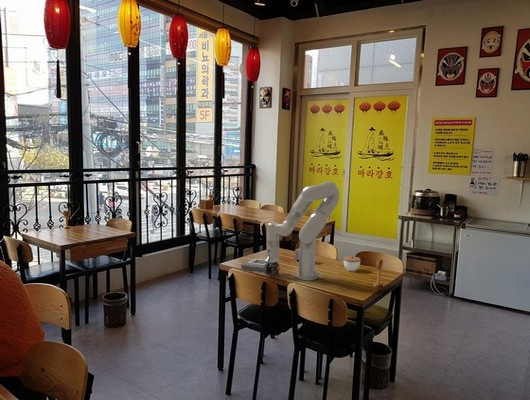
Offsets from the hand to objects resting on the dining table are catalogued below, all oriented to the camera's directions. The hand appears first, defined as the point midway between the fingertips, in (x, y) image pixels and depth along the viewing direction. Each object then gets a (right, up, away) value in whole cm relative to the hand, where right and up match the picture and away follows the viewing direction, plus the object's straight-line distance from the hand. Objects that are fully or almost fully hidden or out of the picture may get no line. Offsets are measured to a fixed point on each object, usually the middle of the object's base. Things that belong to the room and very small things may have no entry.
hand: (271, 271), depth 244 cm
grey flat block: (-8, -1, +14) cm, 16 cm away
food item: (+23, 0, +35) cm, 42 cm away
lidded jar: (+51, -2, +16) cm, 54 cm away
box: (0, -2, 0) cm, 2 cm away
